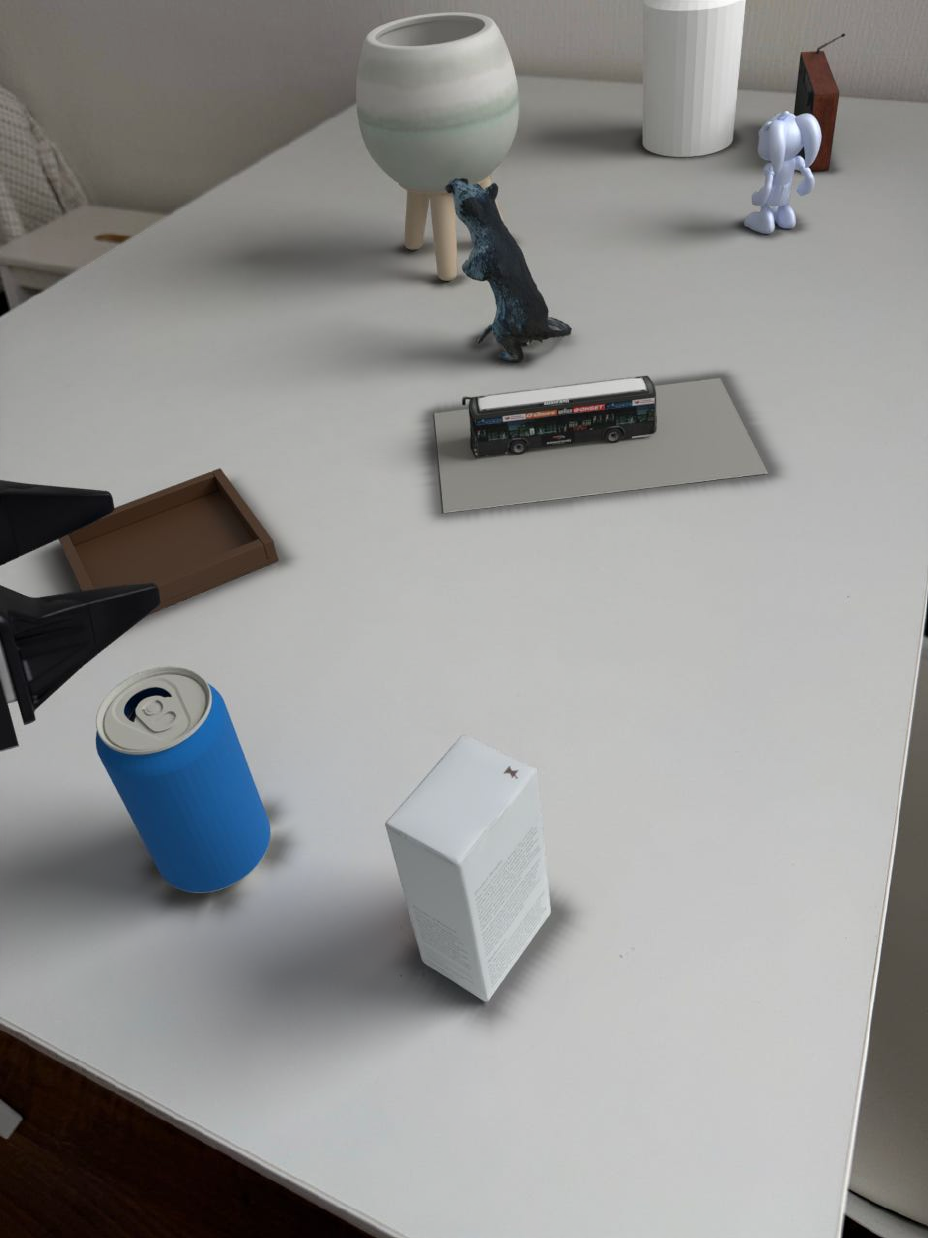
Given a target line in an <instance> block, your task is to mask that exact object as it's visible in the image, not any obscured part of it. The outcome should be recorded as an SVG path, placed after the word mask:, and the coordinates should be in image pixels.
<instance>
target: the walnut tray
mask: <svg viewBox="0 0 928 1238" xmlns="http://www.w3.org/2000/svg"><path fill="white" fill-rule="evenodd" d="M58 541H59V543H60V546H61V548H62V550H63V552H64V555H65V556H66V559H67V561H68V563H69V565H70V566H69V567H70V568H71V570H72V572H73V574H74V576H75V579H76V580H77V583H78V585H79V587H80V591H85V590H91V589H98V588H105V587H112V586H119V585H127V584H141V583H155V584H156V585H157V586H158V588H159V593H160V599H161V603H160V605H159V606H158V607H157V608H156V609H155V610H153V611H152V612H151V613H149V614H148V615H151V614H153V613H156V612H158V611H160V610H163V609H165V608H168V607H170V606H173V605H175V604H178V603H180V602H183V601H185V600H187V599H189V598H192V597H194V596H197V595H199V594H201V593H204V592H206V591H209V590H212V589H215V588H216V587H218V586H220V585H223V584H225V583H228V582H231V581H233V580H235V579H238V578H240V577H243V576H245V575H247V574H250V573H252V572H255V571H257V570H260V569H263V568H264V567H266V566H267V567H268V566H269V565H272V564H274V563H276V562H279V560H280V559H279V556H278V553H277V549H276V545H275V541H274V539H273V538H272V537H271V535H270V534H269V532H268V531H267V530H266V528H265V527H264V526H263V524H262V523H261V521H260V520H259V519H258V518H257V516H256V515H255V513H254V512H253V511H252V509H251V508H250V507H249V505H248V504H247V502H246V501H245V499H244V498H243V497H242V496H241V494H240V493H239V492H238V490H237V488H235V486H234V485H233V484H232V482H231V481H230V479H229V477H228V476H227V475H226V474H225V473H224V471H223V470H222V468H221V467H219V468H217V469H213V470H212V471H208V472H206V473H203V474H201V475H198V476H195V477H193V478H190V479H187V480H184V481H182V482H179V483H177V484H174V485H171V486H168V487H165V488H164V489H163V488H162V489H161V490H158V491H156V492H153V493H150V494H147V495H145V496H142V497H140V498H137V499H134V500H131V501H129V502H126V503H123V504H121V505H118V506H116V507H115V506H114V511H113V512H112V513H111V514H109V515H107V516H105V517H103V518H101V519H100V520H98V521H96V522H94V523H92V524H90V525H88V526H86V527H84V528H82V529H80V530H77V531H75V532H73V533H71V534H69V535H66V536H64V537H62V538H60V539H58Z"/></svg>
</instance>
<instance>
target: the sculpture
mask: <svg viewBox="0 0 928 1238" xmlns="http://www.w3.org/2000/svg"><path fill="white" fill-rule="evenodd" d="M491 183H492V184H491V185H490V186H489V187H487V188H485V190H484V189H483V188H482V187H481V186H480V185H479V184H477V183H476V184H472V185H468V180H467V179H466V178H460V179H457V178H455V179H452V180H450V181H449V182H448V185H446V186H445V190H446V191H447V193H452V194H453V199H454V206H455V213H456V217H457V218H458V219H459V220H460V221H461V222H462V223H463V224H464V225H465V226H466V228H467V230H468V231H469V234H470V238H471V246H472V248H471V251H470V253H469V255H468V258H467V259H465V261H464V263H462V264H461V270H462V272H463V274H465V276H466V277H467V278H469V279H472V280H474V281H478V282H486V281H487V282H488V283H489V286H490V288H491V291H492V293H493V296H494V299H495V300H494V301H495V307H496V311H495V315H494V318H493V322H492V323H491V324H489V325H488V326H487V327H486V328H485V329H484V331H483V332H482V333H481V335H479V338H478V339H477V344H479V345H480V344H481V342H483V340H484V339H485V338H486V337H487V336H489V334H490V333H491V332H492V335H493V336H494V339H495V341H496V343H498V344H499V345H500V346H501V347H502V348H503V350H505V351H504V352H500V354H499V355H498V356H497V357H498V358H500V359H501V360H504V361H510V362H522V361H524V357H525V356H524V350H523V347H522V343H524V344H527V345H528V346H530V344H532V342H533V341H538V342H539V343H541V344H542V343H543V342H544V341H546V340H549V339H555V338H556V339H557V338H565V337H570V336H571V334H572V330H573V328H572V327H571V325H569V324H568V323H566V322H564V321H562V320H559V319H557V318H555V317H553V316H552V317H550V316H549V312H550V311H549V307H548V304H547V303H546V300H545V297H544V296H543V294H542V293H541V291H540V290H539V288H538V286H537V283H536V282H535V280H534V278H533V276H532V273H531V271H530V269H529V266H528V264H527V260H526V258H525V256H524V253H523V250H522V249H521V247H520V246H519V244H518V243H517V240H516V239H515V238H514V236H513V235H512V233H511V232H510V231H509V229H508V227H507V226H506V224H505V225H504V223H505V222H504V223H503V221H502V219H501V217H500V214H499V211H498V208H497V205H496V203H495V199H497V197H498V194H499V186H498V184H497V183H496V182H491ZM551 327H555V328H557V329H553V328H551Z"/></svg>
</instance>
